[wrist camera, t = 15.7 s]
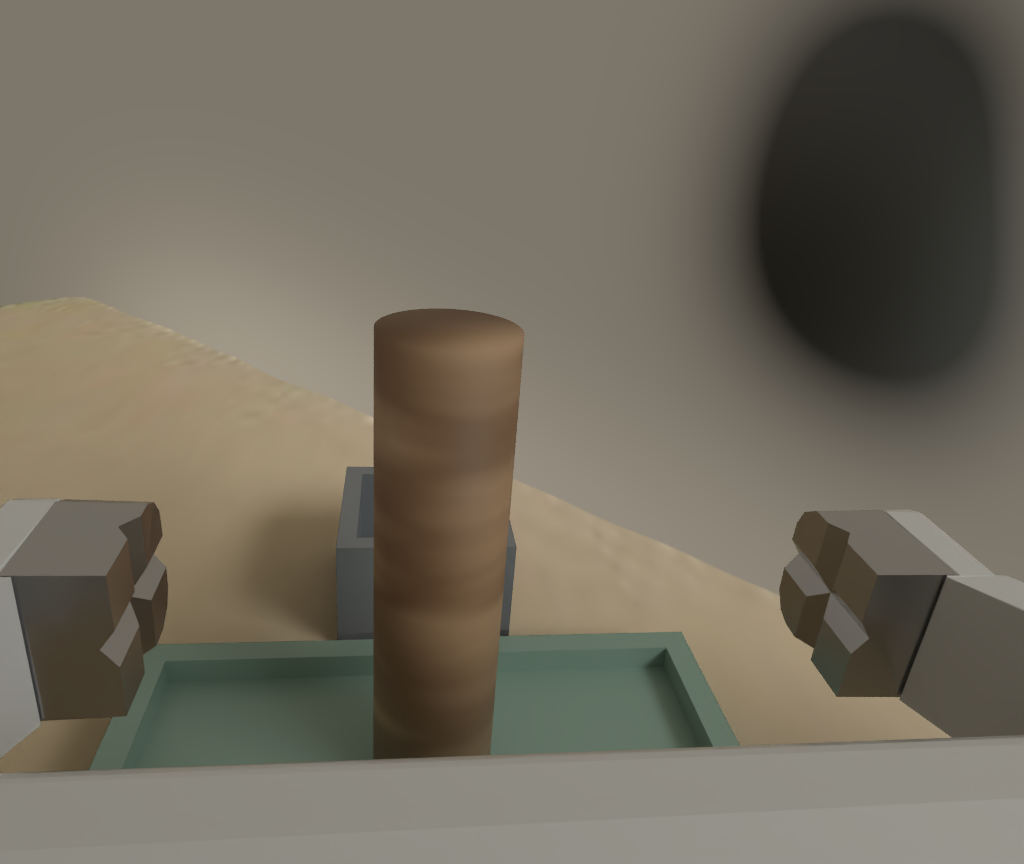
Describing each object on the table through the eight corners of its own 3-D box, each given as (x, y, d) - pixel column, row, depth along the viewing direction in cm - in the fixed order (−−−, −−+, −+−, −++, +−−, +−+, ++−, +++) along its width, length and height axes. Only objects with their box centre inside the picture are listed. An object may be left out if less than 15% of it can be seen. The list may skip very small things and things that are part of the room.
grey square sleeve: (337, 644, 35) (335, 548, 33) (347, 551, 41) (346, 466, 40) (507, 640, 36) (516, 546, 34) (490, 550, 43) (496, 467, 41)
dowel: (348, 781, 27) (341, 327, 20) (422, 712, 30) (436, 301, 23) (441, 842, 25) (466, 363, 18) (510, 762, 28) (551, 329, 22)
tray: (20, 1001, 21) (6, 952, 20) (150, 684, 32) (145, 644, 31) (798, 934, 24) (813, 889, 23) (674, 668, 35) (681, 632, 34)
